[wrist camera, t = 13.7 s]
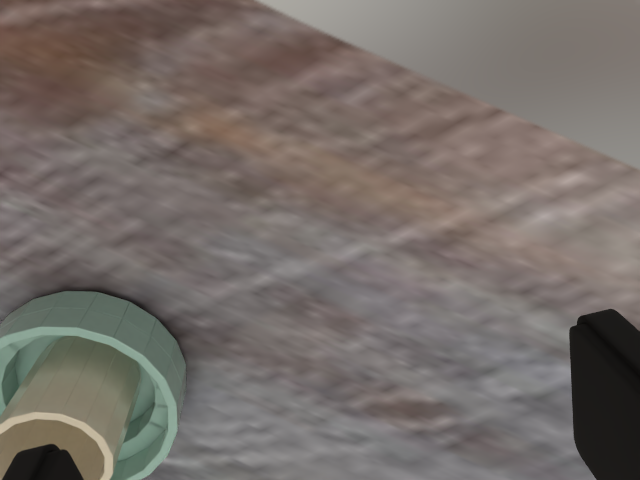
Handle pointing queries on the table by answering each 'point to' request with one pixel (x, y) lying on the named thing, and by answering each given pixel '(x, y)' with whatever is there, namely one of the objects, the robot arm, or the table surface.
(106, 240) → the table surface
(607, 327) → the robot arm
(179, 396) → the bowl
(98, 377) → the cup
